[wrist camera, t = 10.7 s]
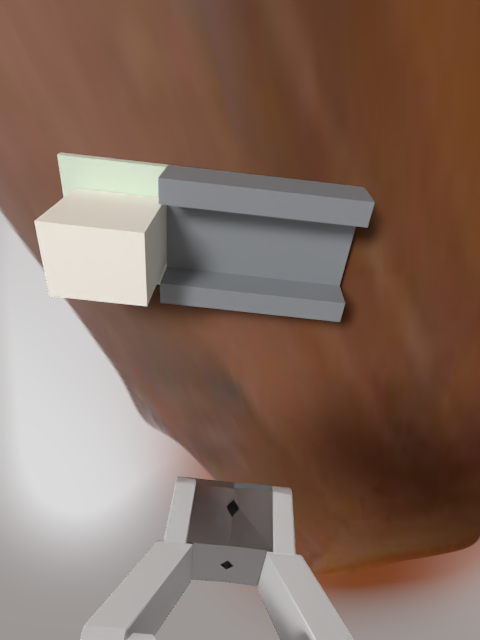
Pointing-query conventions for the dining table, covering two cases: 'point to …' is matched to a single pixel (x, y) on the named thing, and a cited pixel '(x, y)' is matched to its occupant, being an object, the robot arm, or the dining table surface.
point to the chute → (240, 234)
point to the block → (103, 246)
